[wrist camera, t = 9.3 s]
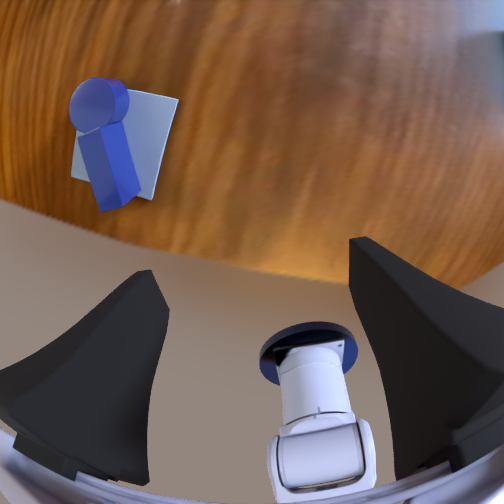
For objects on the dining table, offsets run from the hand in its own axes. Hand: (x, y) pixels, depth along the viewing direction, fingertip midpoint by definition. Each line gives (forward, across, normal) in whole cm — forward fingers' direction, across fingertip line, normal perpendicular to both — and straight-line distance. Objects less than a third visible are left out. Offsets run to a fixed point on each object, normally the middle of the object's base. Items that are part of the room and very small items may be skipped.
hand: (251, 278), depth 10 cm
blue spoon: (+9, +8, -6) cm, 13 cm away
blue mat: (+9, +8, -6) cm, 14 cm away
